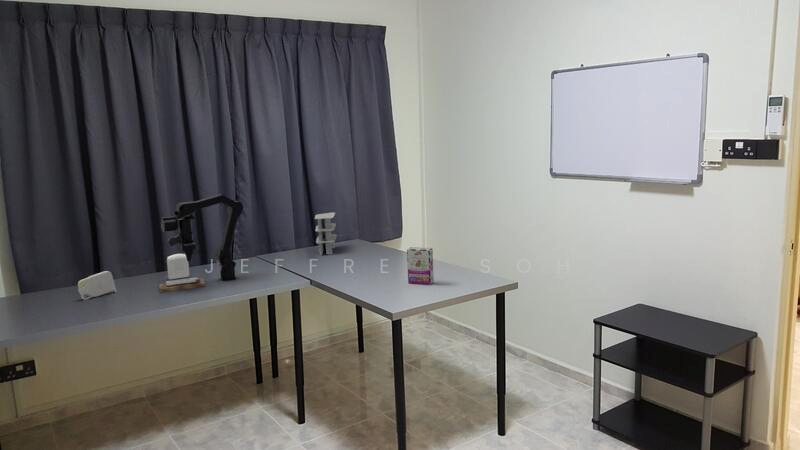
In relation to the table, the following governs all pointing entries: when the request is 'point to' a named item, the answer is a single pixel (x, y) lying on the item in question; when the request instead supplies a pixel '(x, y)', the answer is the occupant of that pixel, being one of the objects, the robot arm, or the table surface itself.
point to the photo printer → (177, 266)
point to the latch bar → (181, 281)
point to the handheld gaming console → (96, 285)
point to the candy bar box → (420, 265)
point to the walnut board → (182, 286)
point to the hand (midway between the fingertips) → (188, 261)
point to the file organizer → (325, 232)
